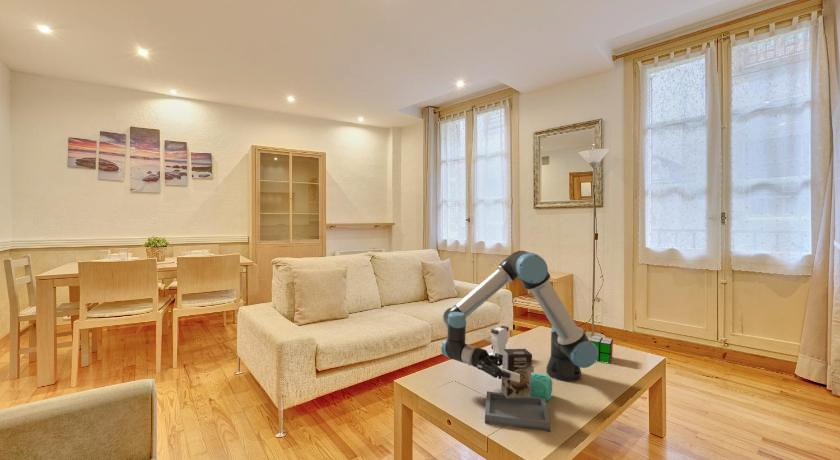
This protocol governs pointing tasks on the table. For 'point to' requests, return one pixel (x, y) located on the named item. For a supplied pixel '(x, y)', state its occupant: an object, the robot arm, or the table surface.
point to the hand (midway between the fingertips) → (526, 373)
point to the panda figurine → (499, 339)
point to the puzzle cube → (603, 348)
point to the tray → (517, 411)
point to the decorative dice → (541, 386)
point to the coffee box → (519, 364)
